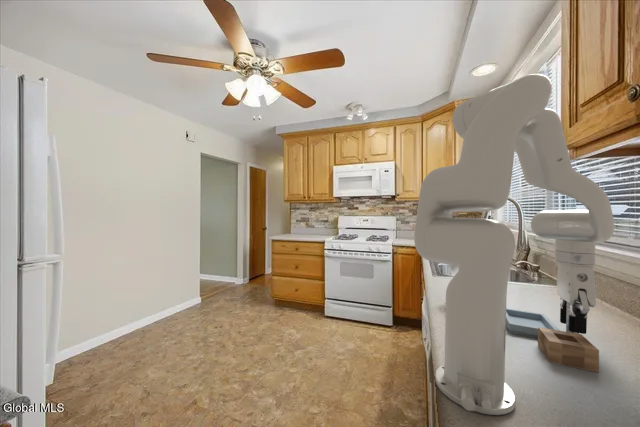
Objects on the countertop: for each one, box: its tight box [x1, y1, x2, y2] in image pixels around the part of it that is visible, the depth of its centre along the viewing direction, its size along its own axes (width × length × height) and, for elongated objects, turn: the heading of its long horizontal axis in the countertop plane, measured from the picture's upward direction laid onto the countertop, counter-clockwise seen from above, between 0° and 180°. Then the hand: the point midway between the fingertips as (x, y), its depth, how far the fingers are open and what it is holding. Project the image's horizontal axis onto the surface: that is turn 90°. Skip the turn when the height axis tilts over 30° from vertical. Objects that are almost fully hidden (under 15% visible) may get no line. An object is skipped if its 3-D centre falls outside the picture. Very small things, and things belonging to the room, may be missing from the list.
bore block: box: [537, 327, 600, 373], centre depth 59 cm, size 8×8×5 cm
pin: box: [565, 301, 580, 334], centre depth 68 cm, size 2×2×10 cm
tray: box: [506, 307, 561, 339], centre depth 75 cm, size 14×11×2 cm
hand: (572, 327), depth 68 cm, fingers open, 4 cm apart
